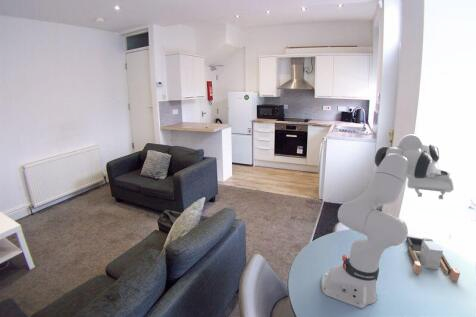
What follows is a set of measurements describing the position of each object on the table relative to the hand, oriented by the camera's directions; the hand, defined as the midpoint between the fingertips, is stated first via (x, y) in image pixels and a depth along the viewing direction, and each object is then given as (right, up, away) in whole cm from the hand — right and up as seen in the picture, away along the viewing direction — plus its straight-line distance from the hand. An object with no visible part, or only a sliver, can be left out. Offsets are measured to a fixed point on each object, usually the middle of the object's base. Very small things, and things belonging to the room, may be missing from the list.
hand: (430, 197), depth 144 cm
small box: (-7, -32, -8) cm, 33 cm away
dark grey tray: (-2, -28, +5) cm, 28 cm away
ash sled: (-7, -31, -8) cm, 33 cm away
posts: (-9, -34, -16) cm, 39 cm away
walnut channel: (-6, -31, -7) cm, 33 cm away
